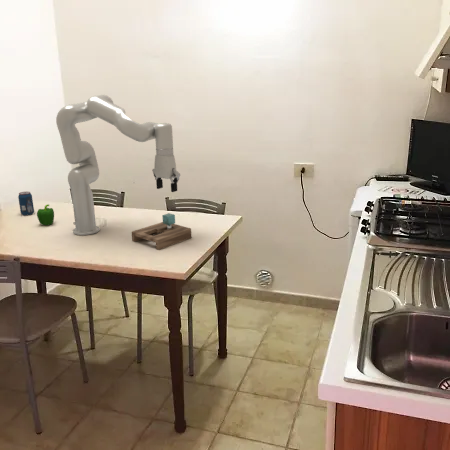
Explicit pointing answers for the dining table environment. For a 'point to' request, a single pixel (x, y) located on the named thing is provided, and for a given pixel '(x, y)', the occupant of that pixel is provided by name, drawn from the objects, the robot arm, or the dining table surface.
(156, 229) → the keyhole plate
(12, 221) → the dining table surface
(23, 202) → the soda can
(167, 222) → the headed peg
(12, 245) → the dining table surface
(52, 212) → the bell pepper
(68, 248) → the dining table surface
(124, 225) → the dining table surface
